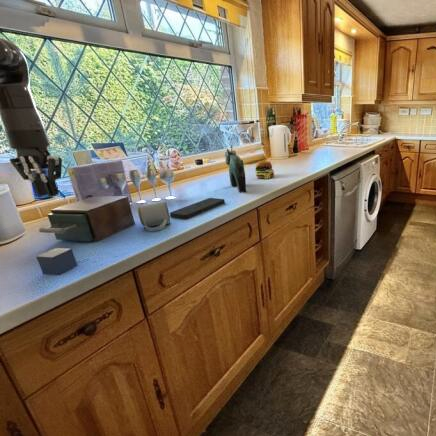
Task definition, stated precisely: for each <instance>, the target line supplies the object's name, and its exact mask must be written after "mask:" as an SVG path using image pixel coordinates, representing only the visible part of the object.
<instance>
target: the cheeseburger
mask: <svg viewBox="0 0 436 436" xmlns="http://www.w3.org/2000/svg"><path fill="white" fill-rule="evenodd" d="M255 176H256V177H257V179H266V180H269V179H271V178H272V177H274V176H275V170H274V169H273V165H272V163H271V162H270V161H267V160H261V161H258V162H257V163H256V165H255Z"/></svg>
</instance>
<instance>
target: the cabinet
mask: <svg viewBox="0 0 436 436" xmlns="http://www.w3.org/2000/svg"><path fill="white" fill-rule="evenodd" d="M58 212H63V213H86V215H87V218H88V221H89V224H90V227H91V230H92V233H93V236H92V238H93V240H91V241H90V242H96V243H97V242H100V241H102V240H104V239H106V238H108V237H110V236H112V235H115V234H117V233H119V232H121V231H123V230H125V229H127V228H129V227H131V226H134V225H136V222H135V217H134V215H133V211H132V207H131V204H130V203H129V199H128V196H93V197H90V198H86V199H83V200H80V201H77V200H76V201H74V202H71V203H67V204H64V205H61V206H57V207H55V208H51V209H50V214H51V213H58ZM74 241H76V240H73V242H74Z"/></svg>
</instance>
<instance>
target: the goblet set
mask: <svg viewBox="0 0 436 436" xmlns="http://www.w3.org/2000/svg"><path fill="white" fill-rule="evenodd" d="M117 173H118V174H111V173H110V179H111V181H112V183H113V184H114V186H116V187H117V188H118V189H119V190H120V191H121V193H122V196H124V194H123V189H124V187H125V185H126V181H127V182H128V180H126V179H127V176H126V175H127V174H126V172H125V173H124V172H117ZM158 173H159V174H158V178H159V180H160V181H161V182H162V183H164V184H165V185H166V186H167V187H168V191H169V195H170V196H166V197H165V200H174V199H177V198H178V196H177V195H172V191H171V184H172V183H173V181H174V180H175V173H174V171H173V169H171V168H166V169H161V170H159V172H158ZM128 175H129V179H130V181H131V182H132V184H133V185H134V186H135V188H136V190H137V192H138V196H139V200H137V201H136V202H135V204H145V203H147V200H145V199H144V200H143V199H142V198H141V197H142V196H141V192H140V186H141V181H142V177H141V173H140V171H139V170H138V169H130V170H129V171H128ZM145 176H146V179H147V180H148V182H149V183H150V184H151V186H152V188H153V193H154V196H155V198H153V199H151V202H160V201H162V198H161V197H157V191H156V181H157V173H156V171H155V169H154V168H147V169H145ZM100 184H101V186H102V187H103V188H108V187H109V181H108V178H107V177H105V178H100ZM129 203H130V205H132V204H133V203H132V202H129Z"/></svg>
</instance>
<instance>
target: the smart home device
mask: <svg viewBox="0 0 436 436" xmlns="http://www.w3.org/2000/svg"><path fill="white" fill-rule="evenodd" d="M225 200H226V199H224V198H216V197H207V198H205V199H201V200H200V201H197V202H195V203H192V204H189V205H186V206H184V207H181V208H179V209H178V208H177V209H176V210H173V211H170V212H169V215H170V218H172V219H173V218H175V219H181V220H188V219H192V218H194V217H196V216H198V215H200V214H202V213H205V212H207V211H211V210H212V209H213V210H214V208H218V207H219V206H222V205H224V204H226V201H225Z"/></svg>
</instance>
